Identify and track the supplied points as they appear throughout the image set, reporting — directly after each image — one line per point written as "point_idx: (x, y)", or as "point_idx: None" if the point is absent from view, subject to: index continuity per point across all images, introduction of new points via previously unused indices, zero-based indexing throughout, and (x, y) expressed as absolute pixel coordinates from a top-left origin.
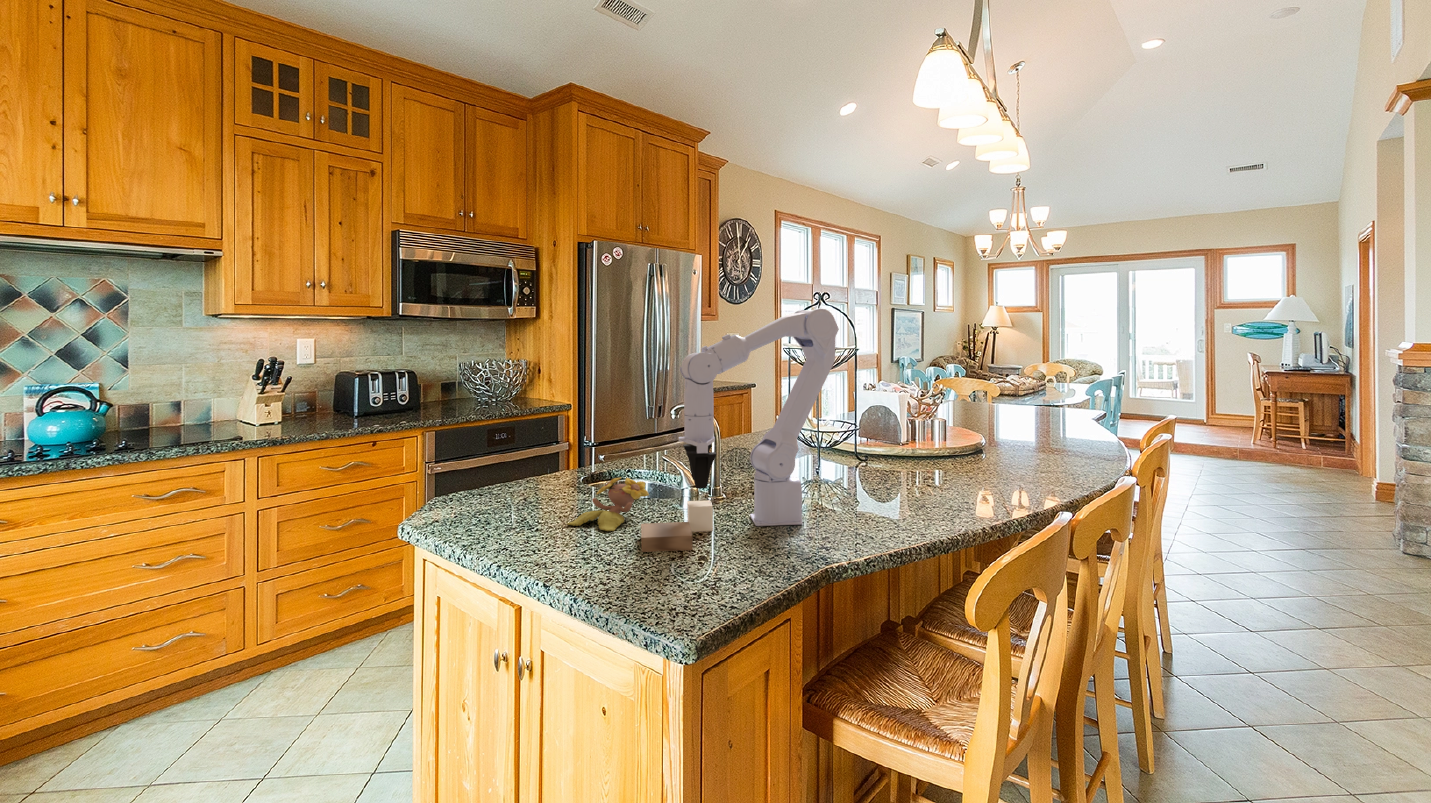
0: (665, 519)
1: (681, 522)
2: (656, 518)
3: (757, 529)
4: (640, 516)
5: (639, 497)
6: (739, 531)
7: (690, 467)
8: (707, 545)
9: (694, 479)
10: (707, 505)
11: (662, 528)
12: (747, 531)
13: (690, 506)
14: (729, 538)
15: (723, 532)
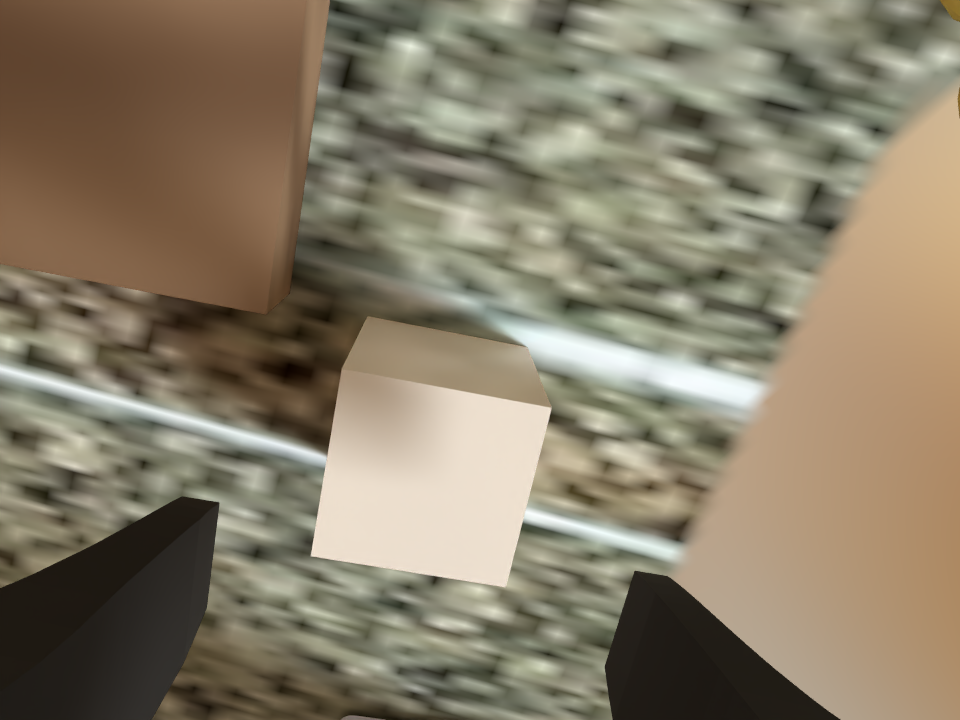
0: (733, 235)
1: (262, 254)
2: (789, 176)
3: (295, 701)
4: (903, 64)
5: (941, 1)
6: (283, 602)
7: (703, 649)
8: (27, 345)
9: (111, 535)
10: (341, 523)
11: (118, 52)
12: (270, 642)
13: (354, 384)
14: (150, 510)
15: (288, 513)
